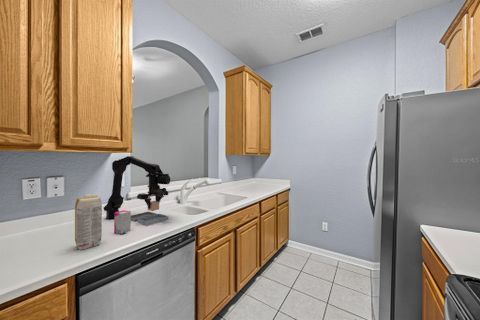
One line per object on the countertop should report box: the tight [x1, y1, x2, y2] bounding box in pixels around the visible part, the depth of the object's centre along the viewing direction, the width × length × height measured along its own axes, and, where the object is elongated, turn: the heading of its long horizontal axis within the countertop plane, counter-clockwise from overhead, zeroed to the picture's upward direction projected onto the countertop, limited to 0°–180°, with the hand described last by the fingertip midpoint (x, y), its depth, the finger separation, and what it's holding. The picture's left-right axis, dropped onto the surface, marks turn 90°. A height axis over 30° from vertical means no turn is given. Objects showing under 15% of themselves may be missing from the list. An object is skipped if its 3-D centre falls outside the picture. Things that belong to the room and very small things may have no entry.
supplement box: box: [113, 210, 132, 236], centre depth 106 cm, size 6×6×12 cm
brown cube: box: [147, 200, 160, 212], centre depth 124 cm, size 5×5×5 cm
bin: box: [131, 210, 157, 222], centre depth 131 cm, size 15×10×2 cm
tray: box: [137, 213, 169, 227], centre depth 124 cm, size 15×10×2 cm
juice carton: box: [74, 193, 103, 251], centre depth 90 cm, size 9×8×24 cm
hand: (153, 207), depth 124 cm, fingers closed on brown cube, 5 cm apart
